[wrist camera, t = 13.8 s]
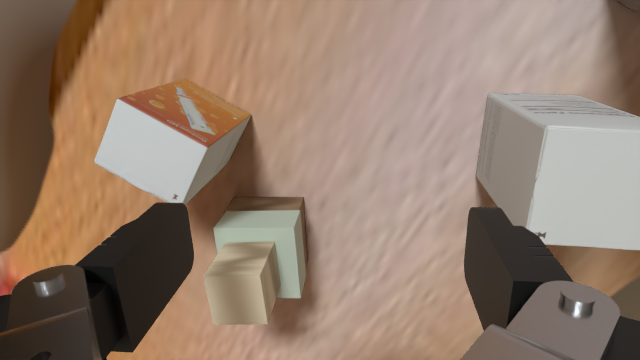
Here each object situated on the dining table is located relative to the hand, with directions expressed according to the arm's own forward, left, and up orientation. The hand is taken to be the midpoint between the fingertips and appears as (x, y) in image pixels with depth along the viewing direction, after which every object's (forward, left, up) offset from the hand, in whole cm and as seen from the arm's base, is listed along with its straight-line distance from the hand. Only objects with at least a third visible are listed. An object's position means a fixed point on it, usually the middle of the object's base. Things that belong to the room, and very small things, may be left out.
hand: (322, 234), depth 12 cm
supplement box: (-17, +6, -33) cm, 38 cm away
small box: (+16, +4, -33) cm, 37 cm away
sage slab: (+10, +17, -29) cm, 35 cm away
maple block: (+10, +17, -25) cm, 32 cm away
